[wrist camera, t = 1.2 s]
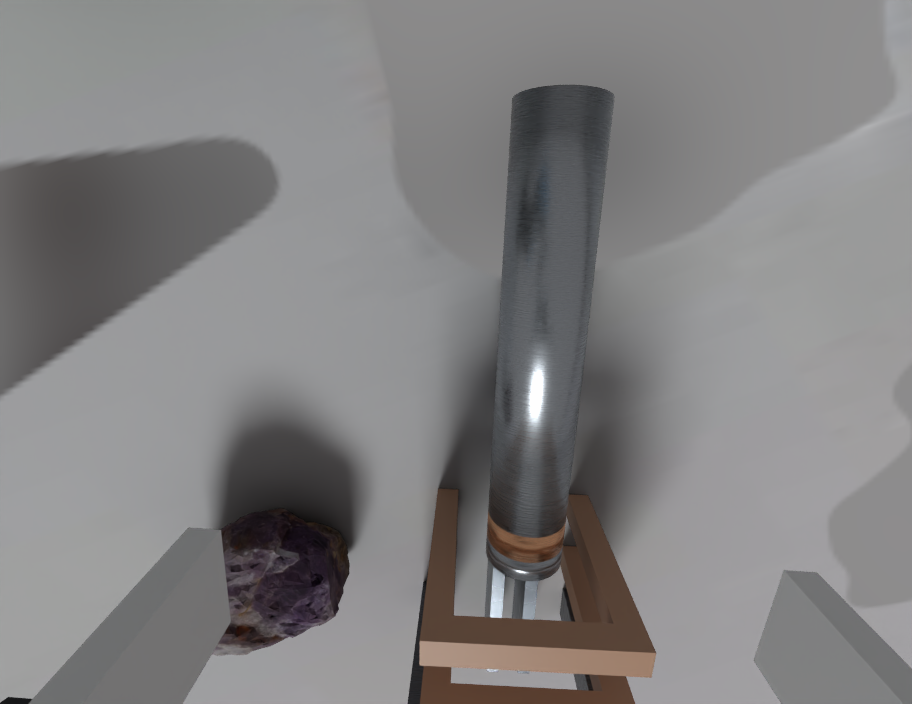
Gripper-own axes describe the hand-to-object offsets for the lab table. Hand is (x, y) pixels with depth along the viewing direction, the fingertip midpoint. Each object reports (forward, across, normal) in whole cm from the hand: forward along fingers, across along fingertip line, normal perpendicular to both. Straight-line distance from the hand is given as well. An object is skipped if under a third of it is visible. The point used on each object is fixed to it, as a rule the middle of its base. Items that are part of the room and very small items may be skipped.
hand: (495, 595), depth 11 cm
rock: (+20, -14, -16) cm, 30 cm away
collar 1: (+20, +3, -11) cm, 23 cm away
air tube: (+16, +3, +2) cm, 16 cm away
